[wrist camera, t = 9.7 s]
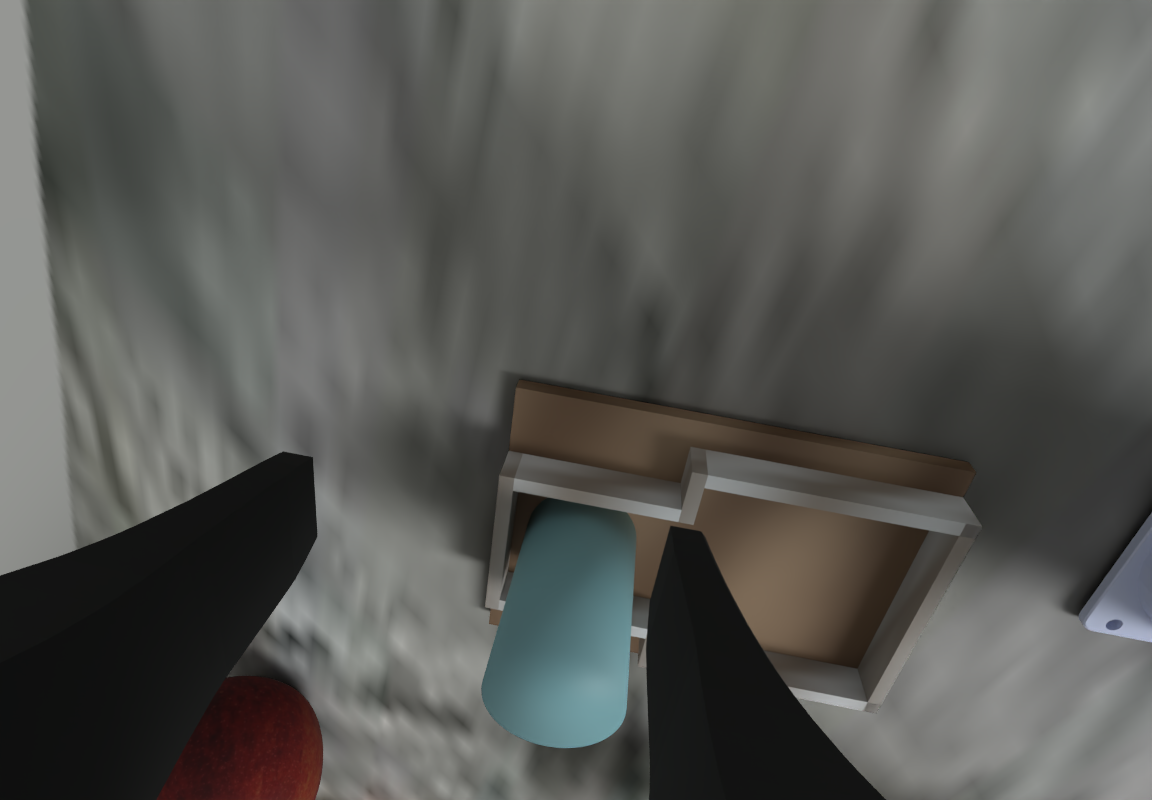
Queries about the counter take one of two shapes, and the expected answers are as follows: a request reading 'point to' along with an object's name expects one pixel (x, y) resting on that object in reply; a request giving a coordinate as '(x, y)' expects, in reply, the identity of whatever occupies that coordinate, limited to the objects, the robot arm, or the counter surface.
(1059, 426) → the counter surface
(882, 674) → the brown tray
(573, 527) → the peg
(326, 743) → the counter surface
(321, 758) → the apple
